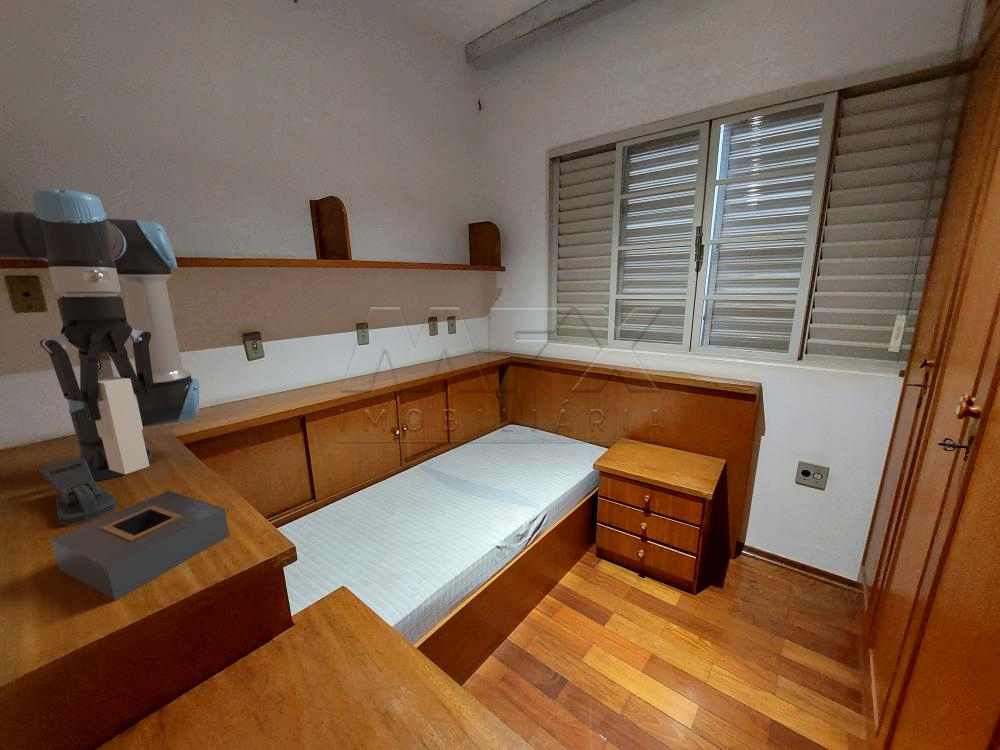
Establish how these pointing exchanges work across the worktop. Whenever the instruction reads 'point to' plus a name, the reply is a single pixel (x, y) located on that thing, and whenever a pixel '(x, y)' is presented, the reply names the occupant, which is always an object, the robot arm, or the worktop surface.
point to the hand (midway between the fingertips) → (121, 432)
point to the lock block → (139, 542)
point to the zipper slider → (78, 493)
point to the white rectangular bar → (122, 426)
